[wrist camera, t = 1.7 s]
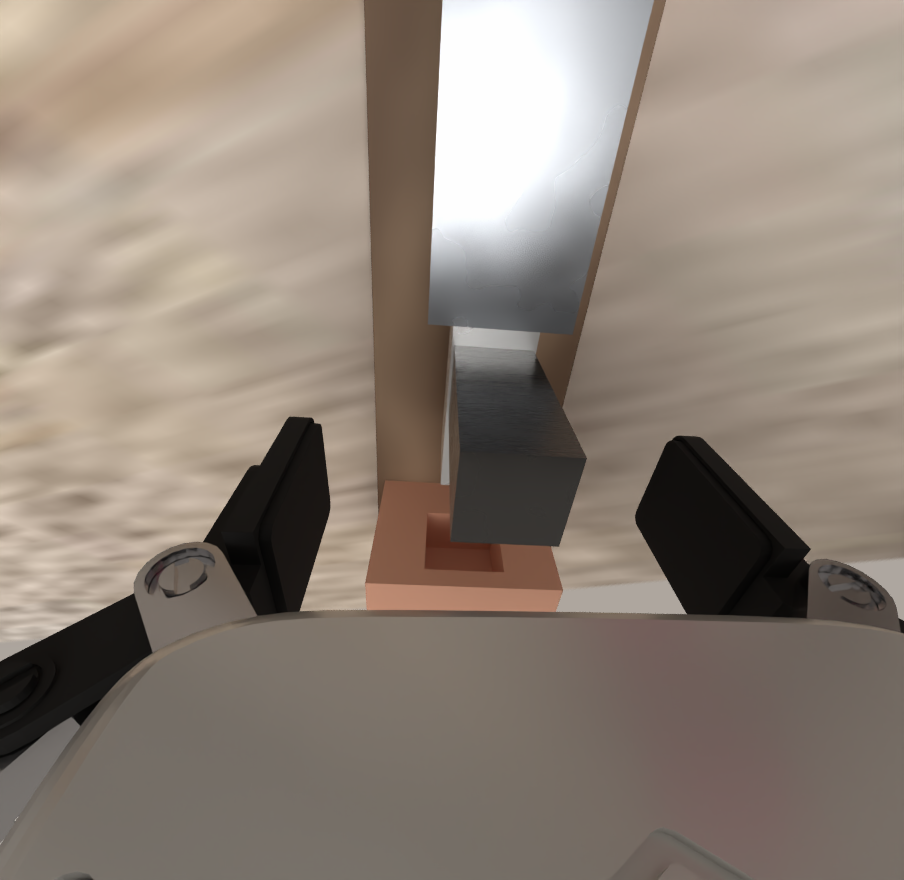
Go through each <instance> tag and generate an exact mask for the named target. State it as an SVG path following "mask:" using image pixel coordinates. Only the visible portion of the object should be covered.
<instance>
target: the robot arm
mask: <svg viewBox="0 0 904 880" xmlns="http://www.w3.org/2000/svg"><path fill="white" fill-rule="evenodd" d="M329 513H330V495H329V486H328V477H327V469H326V460H325V451H324V442H323V434H322V427H321V424H316V423H314V420H313V418H307V417H289V418H288V419H287V420H286V422H285V424H284V426H283V427H282V429H281V431H280V432H279V434H278V436H277V437H276V439H275V441H274V443H273V444H272V446H271V448H270V449H269V451H268V453H267V454H266V456H265V458H264V460H263V461H262V463H261V465H253V466H251V467H250V468H249V469H248V470H247V472H246V474H245V475H244V477H243V478H242V480H241V482H240V483H239V485H238V486H237V488H236V490H235V491H234V493H233V494H232V496H231V498H230V499H229V501H228V503H227V504H226V506H225V507H224V509H223V511H222V512H221V514H220V515H219V517H218V519H217V520H216V522H215V523H214V525H213V527H212V528H211V530H210V532H209V533H208V535H207V536H206V538H205V540H204V541H203V542H191V543H184V544H180V545H177V546H174V547H171V548H169V549H167V550H165V551H163V552H161V553H159V554H157V555H156V556H155V557H154V558H152V559H151V560H150V561H148V562H147V563H146V564H145V565H144V567H143V568H142V569H141V570H140V571H139V572H138V574H137V577H136V579H135V581H134V594H132V595H130V596H128V597H126V598H124V599H122V600H120V601H118V602H116V603H114V604H112V605H110V606H108V607H106V608H104V609H102V610H100V611H98V612H96V613H94V614H92V615H90V616H88V617H86V618H85V619H83V620H81V621H79V622H77V623H75V624H73V625H71V626H69V627H67V628H65V629H63V630H61V631H59V632H57V633H55V634H53V635H51V636H49V637H47V638H45V639H43V640H41V641H39V642H37V643H35V644H33V645H31V646H29V647H27V648H25V649H24V650H22V651H20V652H18V653H16V654H14V655H12V656H10V657H8V658H6V659H4V660H2V661H1V662H0V842H1V841H2V840H3V839H4V840H3V842H2V843H1V845H0V880H904V621H903V620H901V619H899V618H898V613H897V608H896V605H895V603H894V600H893V598H892V597H891V596H890V595H889V593H888V592H887V591H886V590H885V589H884V588H883V587H882V586H881V585H879V584H878V583H877V582H876V581H875V580H873V579H872V578H870V577H869V576H867V575H866V574H864V573H863V572H861V571H859V570H857V569H855V568H853V567H851V566H849V565H846V564H843V563H841V562H838V561H833V560H828V559H818V560H815V561H813V562H811V564H810V565H809V564H808V563H807V562H806V561H805V560H804V559H803V558H804V557H805V556H806V555H807V553H808V552H809V551H810V550H811V549H810V548H809V547H808V546H807V545H806V544H805V543H804V542H803V541H802V540H801V538H800V537H799V536H798V535H797V534H796V533H795V532H794V531H793V530H792V529H791V528H790V527H789V526H788V525H787V524H786V523H785V522H784V521H783V520H782V519H781V518H780V517H779V516H778V515H777V514H776V513H775V512H774V511H773V510H772V509H771V508H770V507H769V506H768V505H767V504H766V503H765V502H764V501H763V500H762V499H761V498H760V497H759V496H758V495H757V494H756V493H755V492H754V491H753V490H752V489H751V488H750V487H749V486H748V484H747V483H746V482H745V481H744V480H743V479H742V478H741V477H740V476H739V475H738V474H737V473H736V472H735V471H734V470H733V469H732V468H731V467H730V466H729V465H728V464H727V463H726V462H725V461H724V460H723V459H722V458H721V457H720V456H719V455H718V454H717V453H716V452H715V451H714V450H713V449H712V448H711V447H710V446H709V445H708V444H707V443H706V442H705V441H704V440H703V439H702V438H701V437H695V436H676V437H675V438H673V440H672V441H669V442H667V444H666V445H665V448H664V450H663V452H662V454H661V457H660V459H659V461H658V463H657V466H656V468H655V470H654V473H653V475H652V477H651V479H650V482H649V484H648V486H647V488H646V491H645V493H644V495H643V497H642V500H641V502H640V504H639V507H638V509H637V511H636V515H635V520H636V524H637V526H638V528H639V530H640V531H641V533H642V535H643V537H644V539H645V540H646V542H647V544H648V546H649V548H650V549H651V551H652V553H653V555H654V556H655V558H656V560H657V562H658V564H659V565H660V567H661V569H662V571H663V572H664V574H665V576H666V578H667V580H668V581H669V583H670V585H671V587H672V588H673V590H674V592H675V594H676V596H677V597H678V599H679V601H680V603H681V605H682V606H683V608H684V610H685V612H686V613H687V614H646V613H645V614H644V613H593V612H592V613H591V612H589V613H588V612H534V611H457V610H321V611H300V608H301V605H302V601H303V598H304V595H305V592H306V588H307V585H308V582H309V579H310V575H311V572H312V569H313V566H314V562H315V559H316V556H317V552H318V549H319V546H320V543H321V539H322V536H323V533H324V530H325V526H326V523H327V520H328V517H329ZM299 611H300V612H299ZM18 816H19V817H18ZM17 817H18V818H17ZM16 818H17V820H16V821H14V820H15V819H16Z"/></svg>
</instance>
